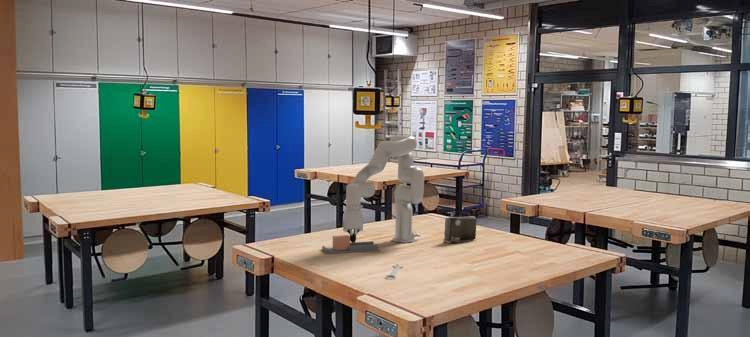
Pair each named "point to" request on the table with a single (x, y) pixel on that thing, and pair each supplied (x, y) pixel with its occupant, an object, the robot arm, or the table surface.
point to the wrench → (394, 271)
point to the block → (341, 242)
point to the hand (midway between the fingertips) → (352, 242)
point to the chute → (354, 248)
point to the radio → (460, 229)
